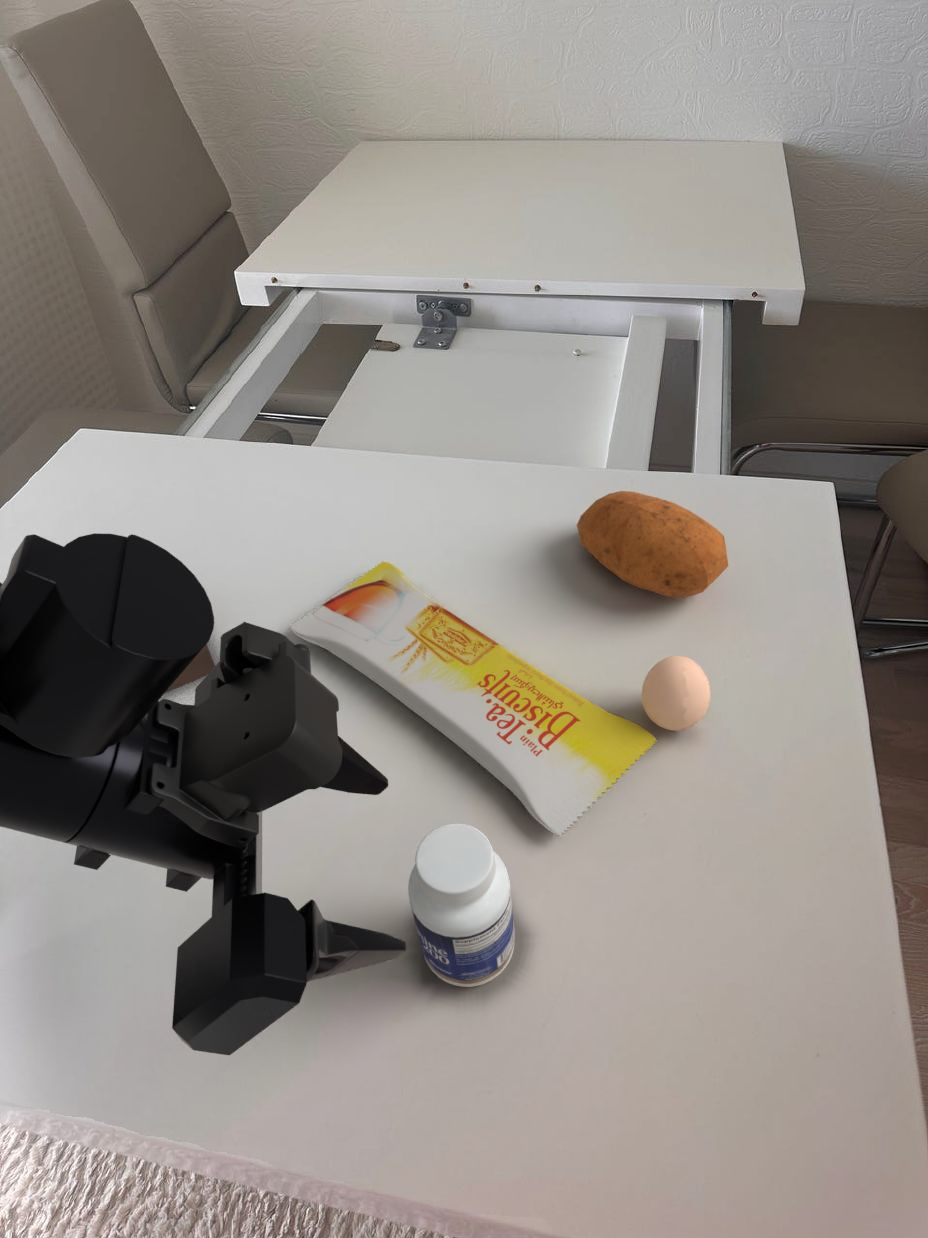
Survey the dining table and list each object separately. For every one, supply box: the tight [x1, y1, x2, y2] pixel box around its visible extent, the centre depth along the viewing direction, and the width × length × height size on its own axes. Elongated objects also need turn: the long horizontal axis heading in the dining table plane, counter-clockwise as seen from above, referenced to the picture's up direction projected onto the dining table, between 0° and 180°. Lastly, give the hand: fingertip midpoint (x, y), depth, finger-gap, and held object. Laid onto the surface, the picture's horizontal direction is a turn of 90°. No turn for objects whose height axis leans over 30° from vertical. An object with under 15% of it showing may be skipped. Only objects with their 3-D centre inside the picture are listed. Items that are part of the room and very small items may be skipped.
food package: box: [289, 560, 658, 837], centre depth 67 cm, size 27×2×10 cm
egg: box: [641, 655, 711, 732], centre depth 63 cm, size 4×4×6 cm
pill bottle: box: [407, 823, 516, 988], centre depth 51 cm, size 5×5×10 cm
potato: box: [576, 490, 729, 599], centre depth 73 cm, size 7×13×7 cm, turn 37°
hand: (391, 863), depth 47 cm, fingers open, 9 cm apart
